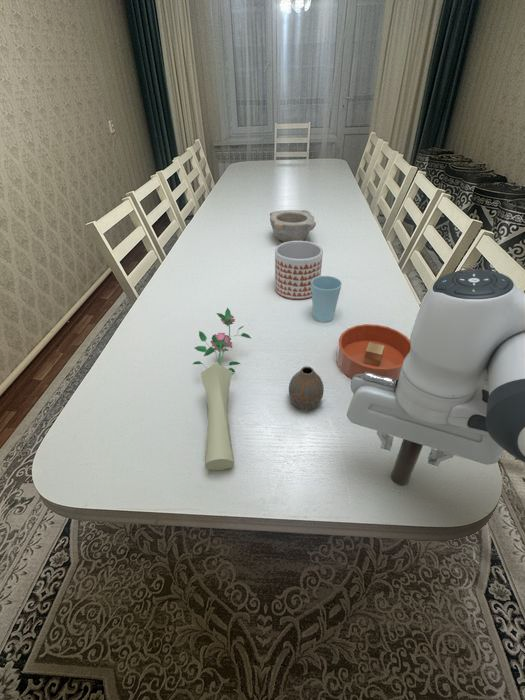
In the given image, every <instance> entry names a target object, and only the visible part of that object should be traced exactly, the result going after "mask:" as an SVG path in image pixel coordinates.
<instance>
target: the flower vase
mask: <svg viewBox="0 0 525 700" xmlns="http://www.w3.org/2000/svg"><path fill="white" fill-rule="evenodd" d="M216 315H217V316H218V317H219V318H220V321H221V323H222V324H223V325H225V326H226V327H228V334H225V332H218V333H217V334H216V333H215V334H212V337H211V340H210V344H211V346H210V345H209V344H208V343H207V341H206V340H207V339H208V337H207V335H206V334H205V333H204V332H202V331H201V330H199V331H198V336H199V340H200V341H201V342H205V344H206V345H207V346H208V348H207V346H205V345H197V346H195V347H194V349H195V350H196V351H197V352H201V353H204V354H203V357H206V356H210V355H211V354H213V353H215V357H216V360H217V362H214V363H213V364H211V365H210V366H209V367H205V370H203V371H202V372H200V375H201V379H202V383H203V387H204V392H205V395H206V401H207V411H208V412H207V434H206V435H207V436H206V445H205V457H204V458H205V459H204V467H205V469H207V470H211V471H225V470H228V469H230V468H232V467H233V466H234V465H235V459H234V454H233V453H234V452H233V448H232V439H231V431H230V424H229V416H228V399H229V392H230V386H231V381H232V375H233V373H235V374H236V369H234V368H233V367H228V366H238V365H241V362H238V361H237V360H236V361H233V360H231V361H229V362H228V364H226V366H225V365H223V366H222V365H221V364H222V361H223V357H224V354H225V352H229V349H233V341H232V337H231V328H230V327H231V325H233V324H234V323H236V322H235V320H236V319H235V317H234V315H232V313H231V310H230V309H229V307H226V309H225V311H224V314H223V313H219V312H216ZM244 327H245V326H244V325H243V326H240V327H239V328H238V329H237V331H240V330H241V329H243V328H244ZM238 333H239V332H237V334H235V335H234V337H238V336H239V337H240V336H241V337H243V338H245V339H246V338H247V339H252V337H251V336H250V334H249V333H246V332H242V333H241V334H238ZM228 348H229V349H228ZM216 351H217V352H216ZM221 353H222V354H221ZM192 365H203V363H202V362H201V361H200V360H196V361H194V362H193V363H192Z"/></svg>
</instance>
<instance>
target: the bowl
mask: <svg viewBox="0 0 525 700" xmlns="http://www.w3.org/2000/svg"><path fill="white" fill-rule="evenodd" d="M369 342H371V343H375V344H380V345H384V351H383V355H382V359H381V362H380V365H379V366H375V365H371V364H367V363H364V357H365V352H366V349H367V346H368V343H369ZM410 348H411V347H410V338H409V337H408V336H406V335H405V334H403V333H402V332H400V331H399V330H396V329H394V328H392V327H390V326H387V325H386V326H384V325H380V324H370V323H368V324H367V323H365V324H359V325H354V326H352V327H349V328H347V329H345V330H344V331H342V333H341V334H340V336H339V338H338V342H337V350H336V363H337V366H338V368H339V370H340V371H341V372H342V373H343V374H344V375H345V376H346V377H347V378H349V379H351V380H352V378H353V376H355V375H356V374H364V372H370V373H373V374H375V375H377V376H383V377H384V376H385V377H389V378H393V379H397V380H398V379H399V375H400V371H401V368H402V365H403V361H404V359H405V357H406V356H407V354H408V353H409V352H410Z"/></svg>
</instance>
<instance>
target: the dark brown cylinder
mask: <svg viewBox="0 0 525 700" xmlns="http://www.w3.org/2000/svg"><path fill="white" fill-rule="evenodd" d="M423 447H424V445H421V444H418V443H415V442H411V441H408V440H405V439H402V441H401V445H400V447H399V451H398V453H397V456H396V459H395V461H394V465H393V468H392V471H391V474H390V478H391V481H392V482H393V483H394V484H395V485H398V486H406V485H408V483H409V481H410V478H411V476H412V474H413V471H414V470H415V466H416V465H417V462H418V459H419V458H420V457H419V456H420V455H421V452H422V449H423Z"/></svg>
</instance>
